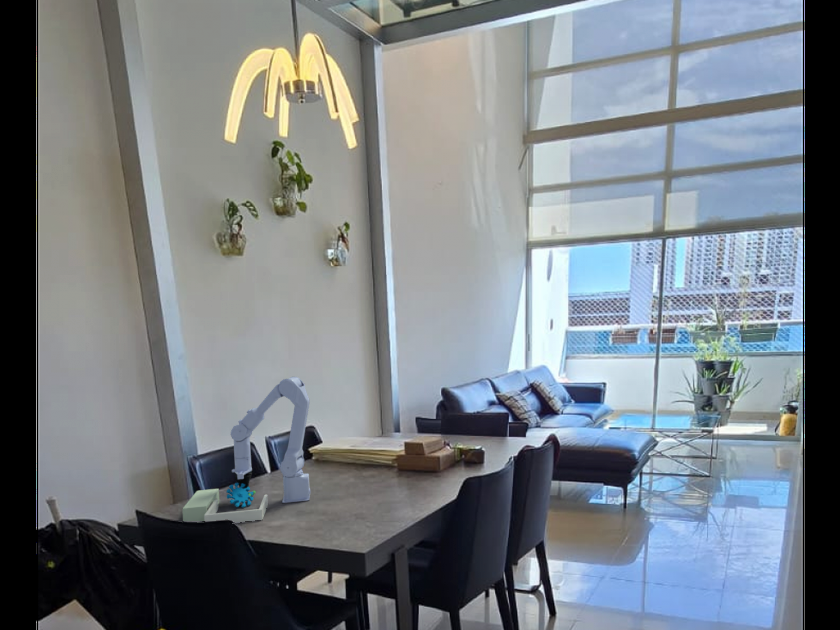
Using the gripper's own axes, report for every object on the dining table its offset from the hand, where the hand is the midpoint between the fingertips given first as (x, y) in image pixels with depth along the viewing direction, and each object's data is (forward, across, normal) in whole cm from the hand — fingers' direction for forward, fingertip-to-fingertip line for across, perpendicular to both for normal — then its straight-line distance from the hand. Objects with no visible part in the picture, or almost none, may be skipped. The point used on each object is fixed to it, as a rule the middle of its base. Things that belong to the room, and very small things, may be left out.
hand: (244, 494), depth 216 cm
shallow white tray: (+2, +16, 0) cm, 16 cm away
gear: (+3, +6, 0) cm, 6 cm away
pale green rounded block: (+2, +10, -13) cm, 16 cm away
